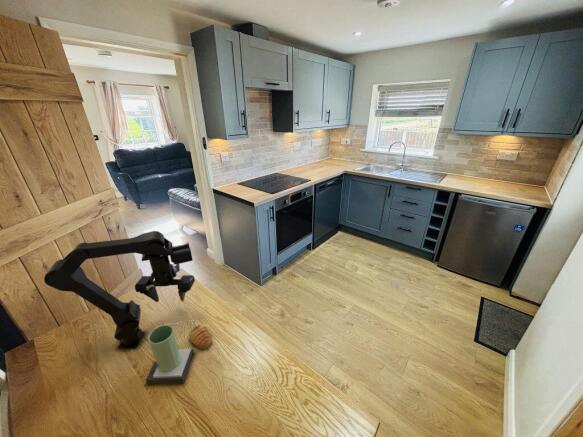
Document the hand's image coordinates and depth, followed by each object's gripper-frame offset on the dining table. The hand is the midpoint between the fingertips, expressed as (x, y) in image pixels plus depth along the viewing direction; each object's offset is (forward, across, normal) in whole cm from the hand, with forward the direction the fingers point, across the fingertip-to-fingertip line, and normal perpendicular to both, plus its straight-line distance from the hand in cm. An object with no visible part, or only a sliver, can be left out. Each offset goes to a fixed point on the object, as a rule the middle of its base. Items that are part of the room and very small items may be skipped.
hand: (170, 301), depth 88 cm
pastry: (+13, -11, +6) cm, 18 cm away
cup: (+10, -5, +17) cm, 20 cm away
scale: (+13, -5, +17) cm, 22 cm away
